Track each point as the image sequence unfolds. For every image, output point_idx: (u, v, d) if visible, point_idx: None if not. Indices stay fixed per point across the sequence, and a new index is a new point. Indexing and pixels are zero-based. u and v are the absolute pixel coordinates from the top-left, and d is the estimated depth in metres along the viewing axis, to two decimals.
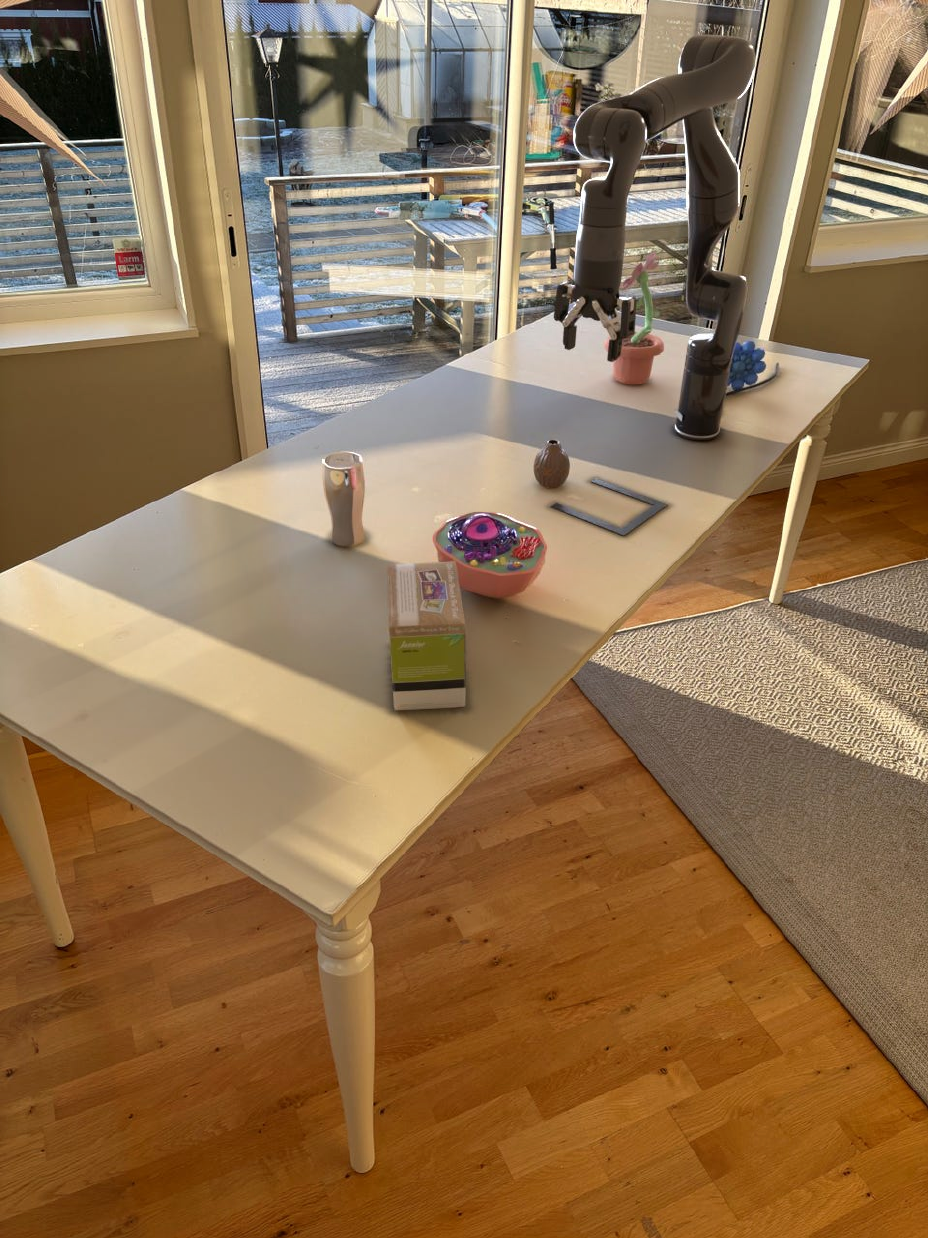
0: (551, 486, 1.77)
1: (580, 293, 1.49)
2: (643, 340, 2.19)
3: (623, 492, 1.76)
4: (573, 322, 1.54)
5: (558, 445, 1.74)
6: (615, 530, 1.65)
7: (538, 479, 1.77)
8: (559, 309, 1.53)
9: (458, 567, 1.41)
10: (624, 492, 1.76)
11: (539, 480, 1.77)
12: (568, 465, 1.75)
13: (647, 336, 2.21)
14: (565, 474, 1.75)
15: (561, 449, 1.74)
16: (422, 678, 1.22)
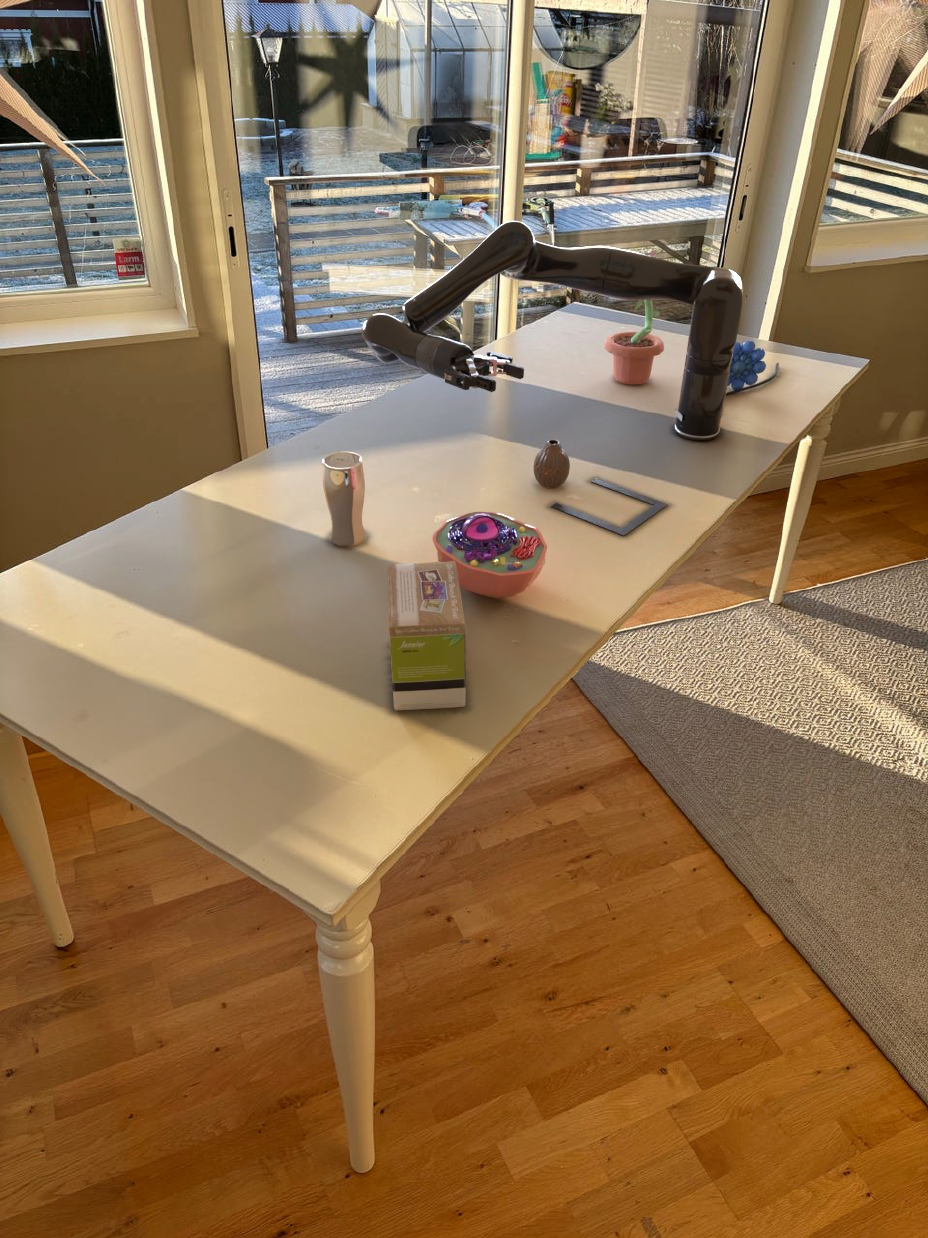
0: (551, 486, 1.77)
1: None
2: (643, 340, 2.19)
3: (623, 492, 1.76)
4: (504, 366, 1.79)
5: (558, 445, 1.74)
6: (615, 530, 1.65)
7: (538, 479, 1.77)
8: (501, 368, 1.82)
9: (458, 567, 1.41)
10: (624, 492, 1.76)
11: (539, 480, 1.77)
12: (568, 465, 1.75)
13: (647, 336, 2.21)
14: (565, 474, 1.75)
15: (561, 449, 1.74)
16: (422, 678, 1.22)
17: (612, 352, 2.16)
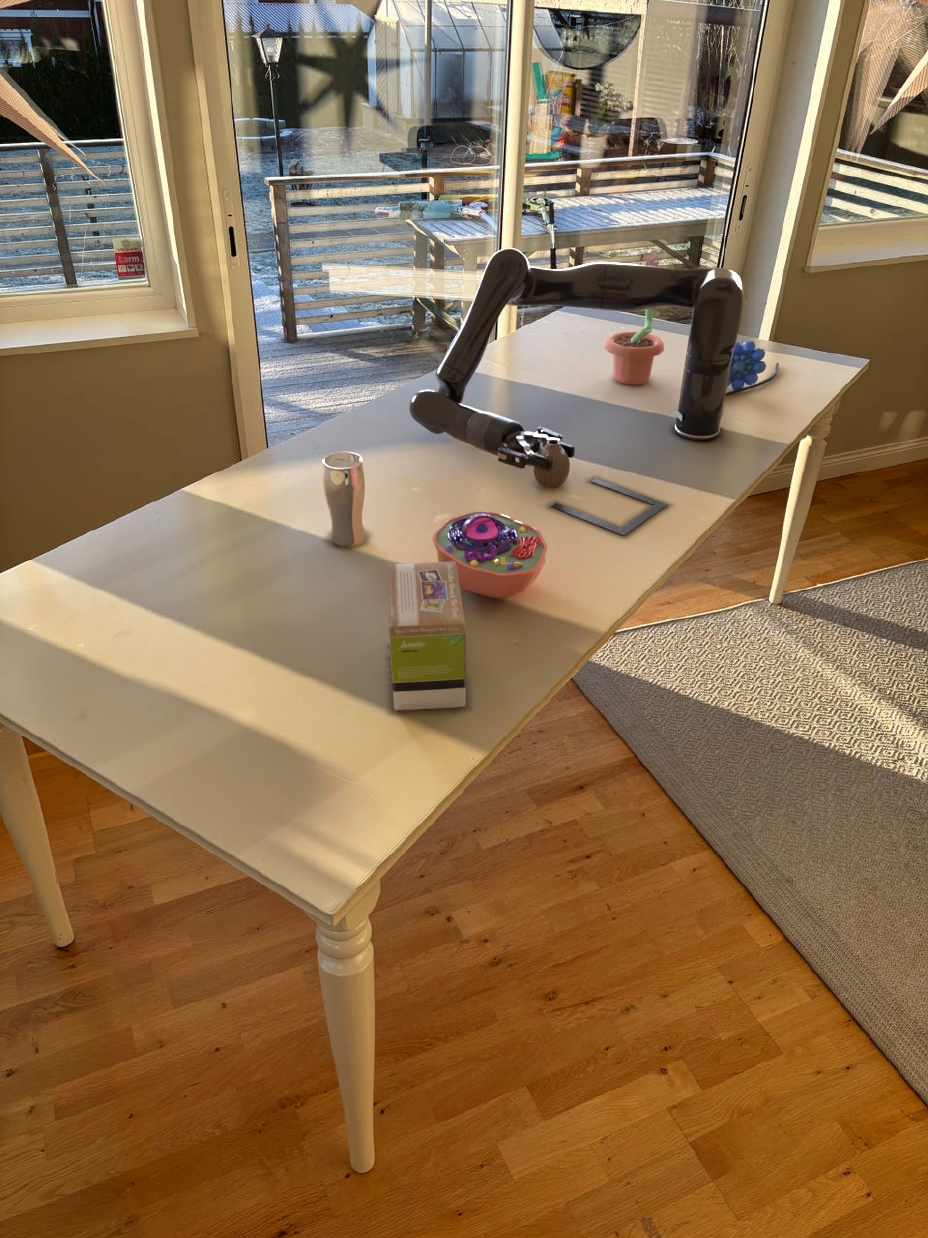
0: (551, 486, 1.77)
1: None
2: (643, 340, 2.19)
3: (623, 492, 1.76)
4: None
5: (558, 445, 1.74)
6: (615, 530, 1.65)
7: (538, 479, 1.77)
8: None
9: (458, 567, 1.41)
10: (624, 492, 1.76)
11: (539, 480, 1.77)
12: (568, 465, 1.75)
13: (647, 336, 2.21)
14: (565, 474, 1.75)
15: (561, 449, 1.74)
16: (422, 678, 1.22)
17: (612, 352, 2.16)
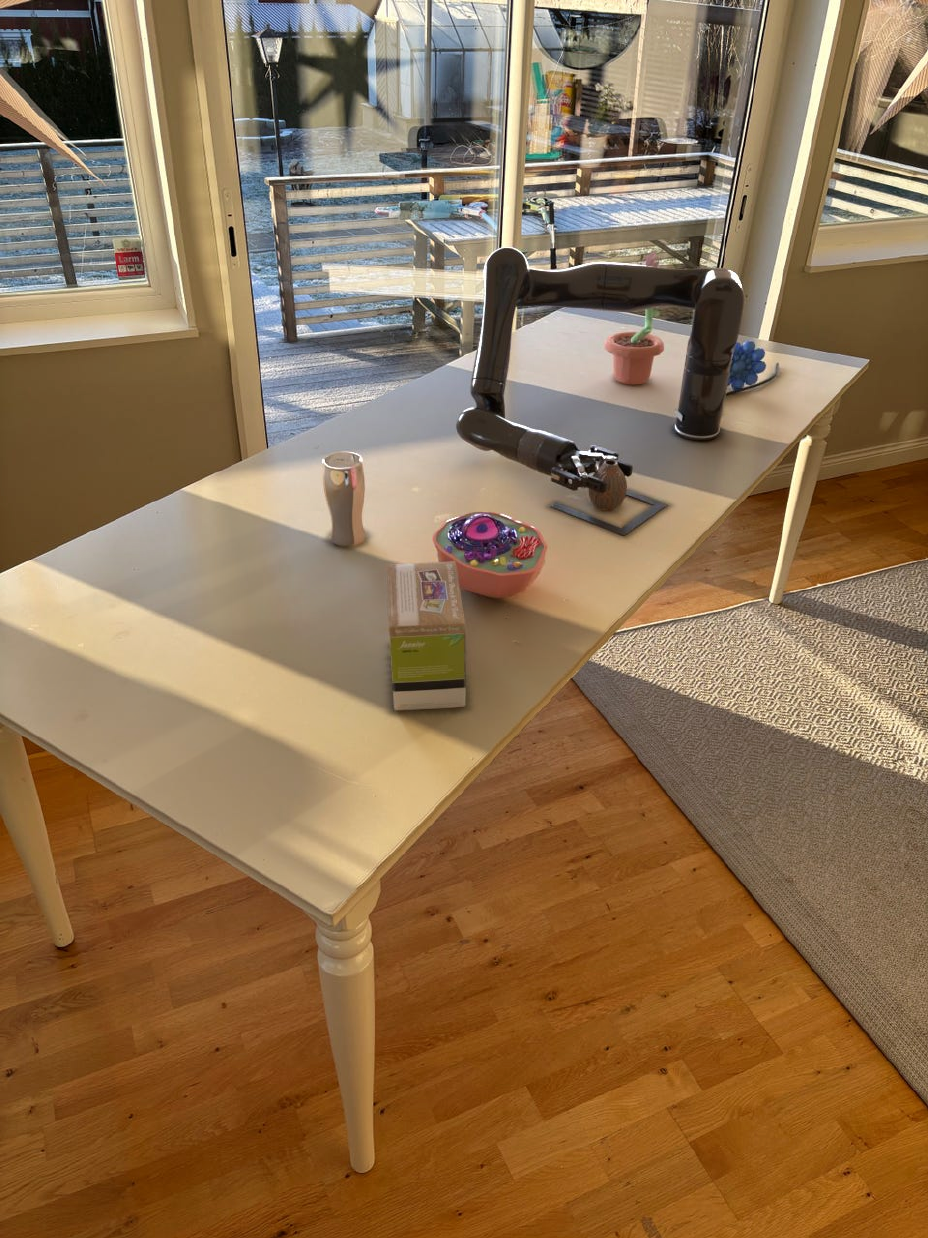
0: (607, 508, 1.70)
1: None
2: (643, 340, 2.19)
3: None
4: None
5: (616, 466, 1.67)
6: (615, 530, 1.65)
7: (594, 501, 1.70)
8: None
9: (458, 567, 1.41)
10: None
11: (595, 502, 1.70)
12: (625, 486, 1.69)
13: (647, 336, 2.21)
14: (622, 496, 1.69)
15: (619, 470, 1.67)
16: (422, 678, 1.22)
17: (612, 352, 2.16)
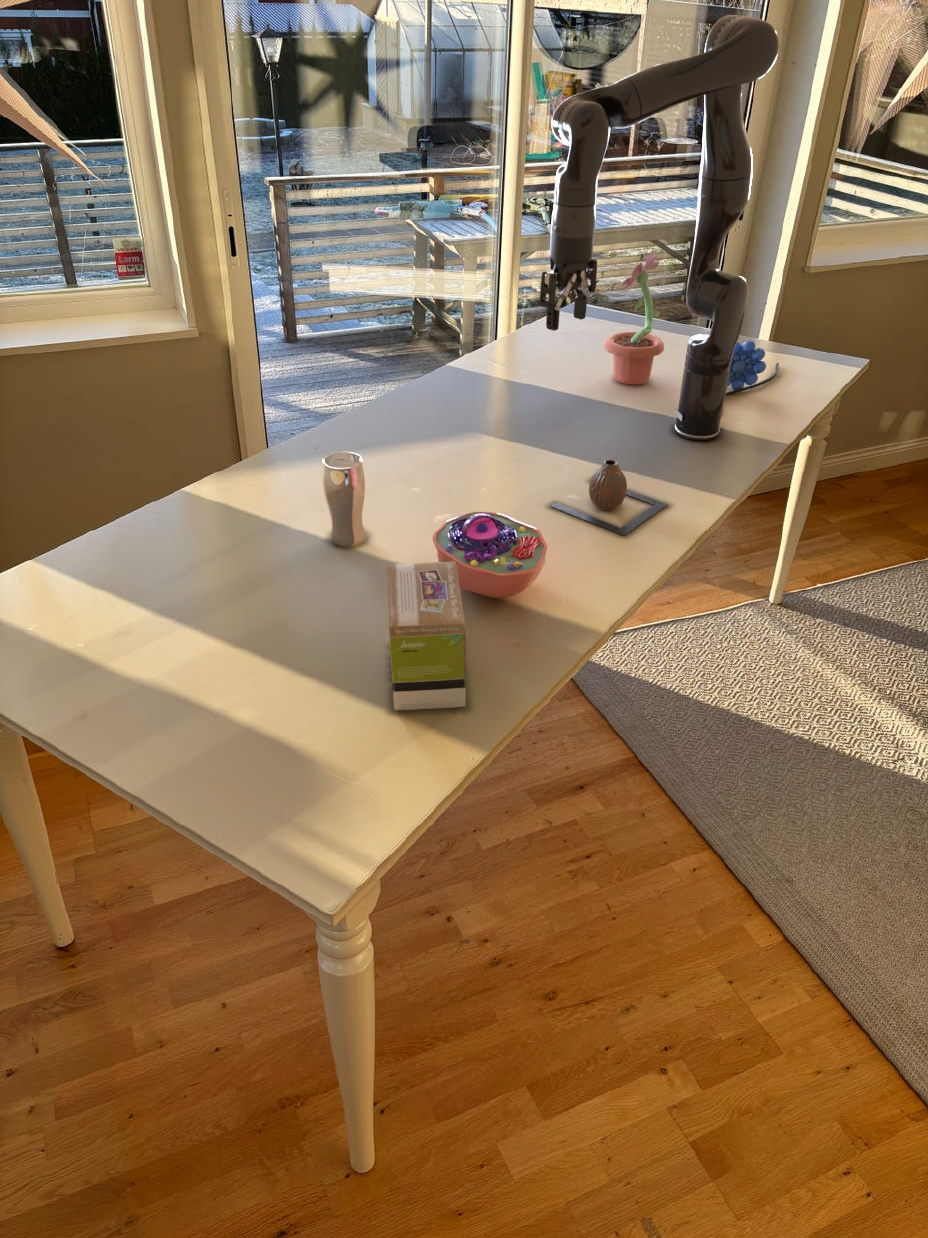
0: (607, 508, 1.70)
1: None
2: (643, 340, 2.19)
3: None
4: (581, 294, 1.70)
5: (616, 466, 1.67)
6: (615, 530, 1.65)
7: (594, 501, 1.70)
8: None
9: (458, 567, 1.41)
10: None
11: (595, 502, 1.70)
12: (625, 486, 1.69)
13: (647, 336, 2.21)
14: (622, 496, 1.69)
15: (619, 470, 1.67)
16: (422, 678, 1.22)
17: (612, 352, 2.16)
